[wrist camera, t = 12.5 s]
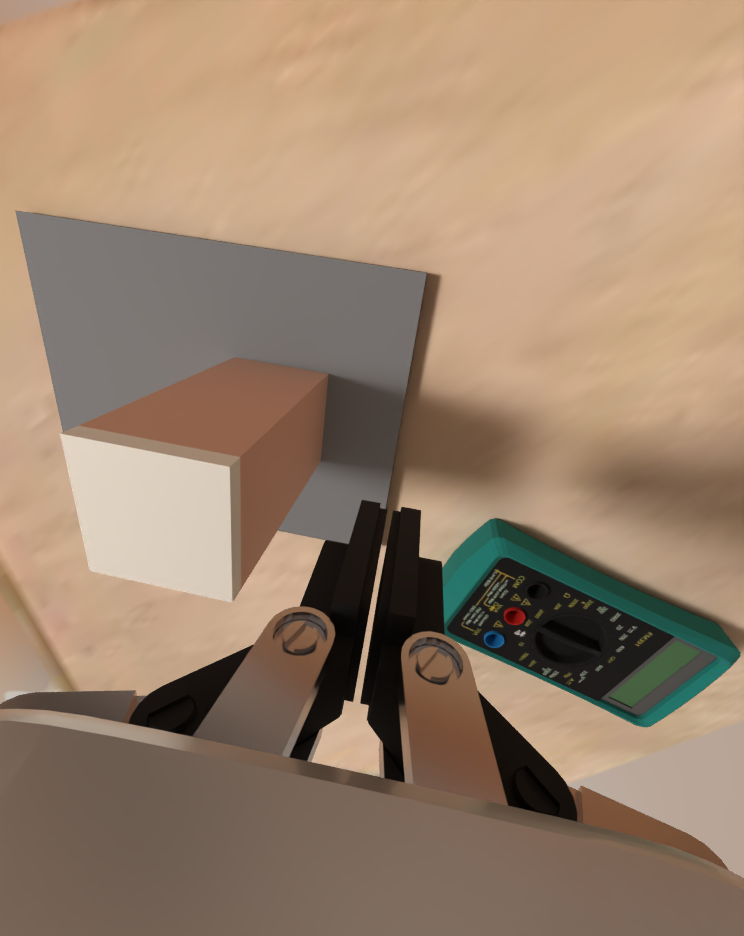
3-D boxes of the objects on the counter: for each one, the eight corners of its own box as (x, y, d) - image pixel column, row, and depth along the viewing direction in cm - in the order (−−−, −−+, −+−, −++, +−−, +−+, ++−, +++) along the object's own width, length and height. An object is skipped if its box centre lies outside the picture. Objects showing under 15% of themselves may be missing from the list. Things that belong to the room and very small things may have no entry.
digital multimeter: (481, 505, 22) (486, 537, 20) (722, 621, 23) (758, 667, 20) (418, 596, 25) (415, 634, 23) (630, 694, 26) (650, 741, 24)
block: (328, 373, 19) (229, 466, 10) (320, 461, 21) (232, 602, 12) (234, 357, 20) (60, 433, 11) (235, 445, 22) (89, 571, 13)
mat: (427, 272, 17) (426, 272, 17) (379, 544, 24) (377, 550, 23) (27, 212, 19) (15, 210, 18) (83, 484, 25) (75, 489, 24)
